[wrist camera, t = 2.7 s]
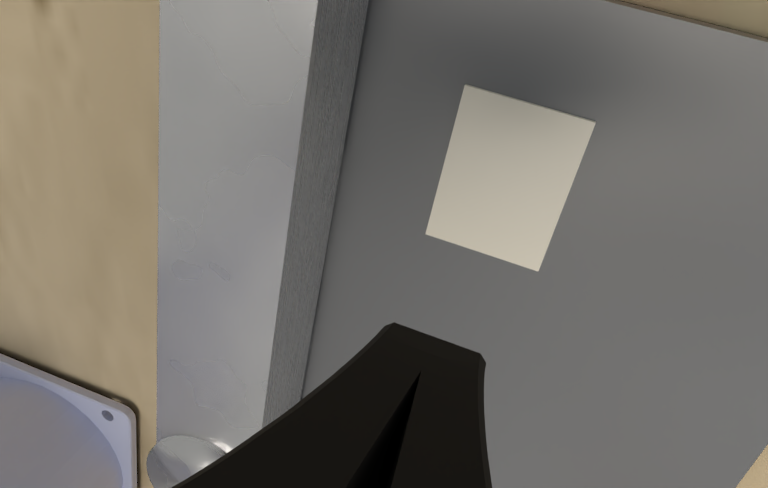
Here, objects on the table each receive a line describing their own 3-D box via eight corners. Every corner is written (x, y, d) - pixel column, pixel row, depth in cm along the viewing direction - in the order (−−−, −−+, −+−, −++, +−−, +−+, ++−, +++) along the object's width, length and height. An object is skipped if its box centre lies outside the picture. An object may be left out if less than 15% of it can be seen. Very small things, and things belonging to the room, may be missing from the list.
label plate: (210, 415, 24) (198, 430, 23) (246, -95, 15) (228, -94, 14) (644, 592, 21) (645, 615, 20) (1002, 98, 12) (1024, 109, 12)
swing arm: (294, 468, 22) (249, 547, 20) (202, 430, 23) (146, 502, 20) (387, -53, 13) (330, -41, 11) (234, -92, 14) (143, -90, 11)
